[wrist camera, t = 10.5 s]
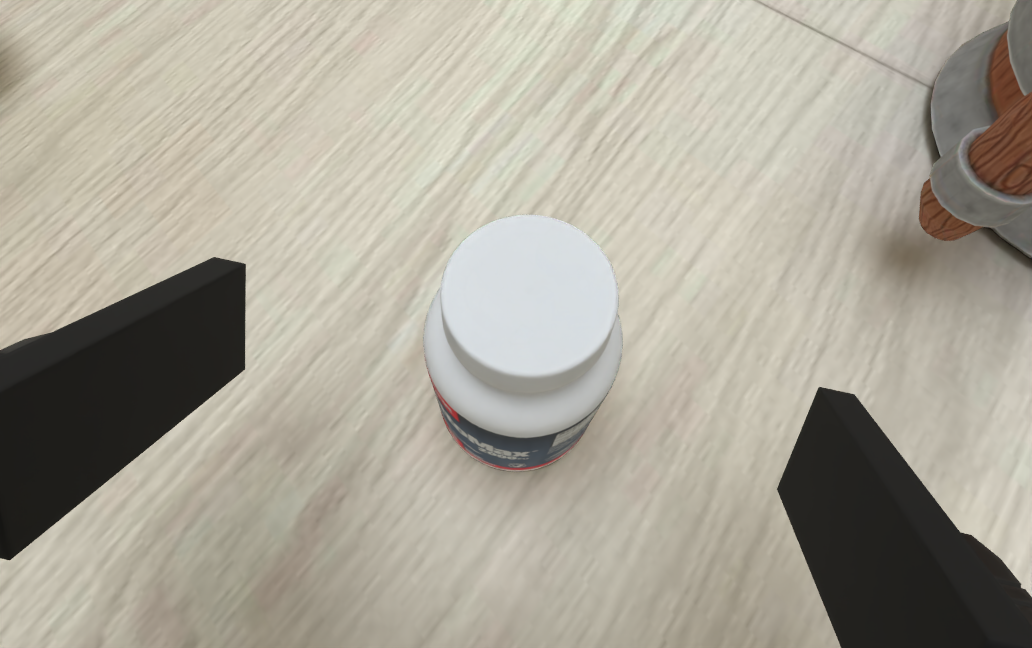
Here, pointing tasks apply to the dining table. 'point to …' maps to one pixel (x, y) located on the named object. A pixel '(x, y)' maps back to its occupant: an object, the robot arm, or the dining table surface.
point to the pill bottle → (523, 340)
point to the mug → (984, 137)
